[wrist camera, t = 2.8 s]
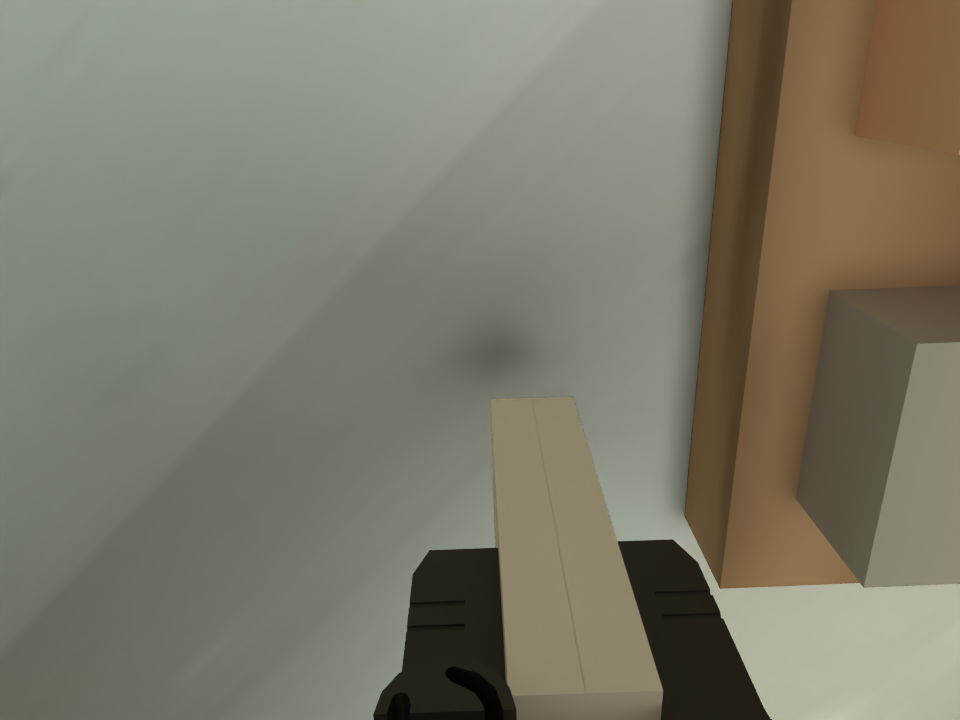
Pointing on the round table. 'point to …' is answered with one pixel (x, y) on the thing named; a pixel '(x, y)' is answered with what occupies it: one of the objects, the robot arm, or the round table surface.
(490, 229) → the round table surface
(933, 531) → the grey square block
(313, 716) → the round table surface
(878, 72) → the peach block
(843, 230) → the walnut board
